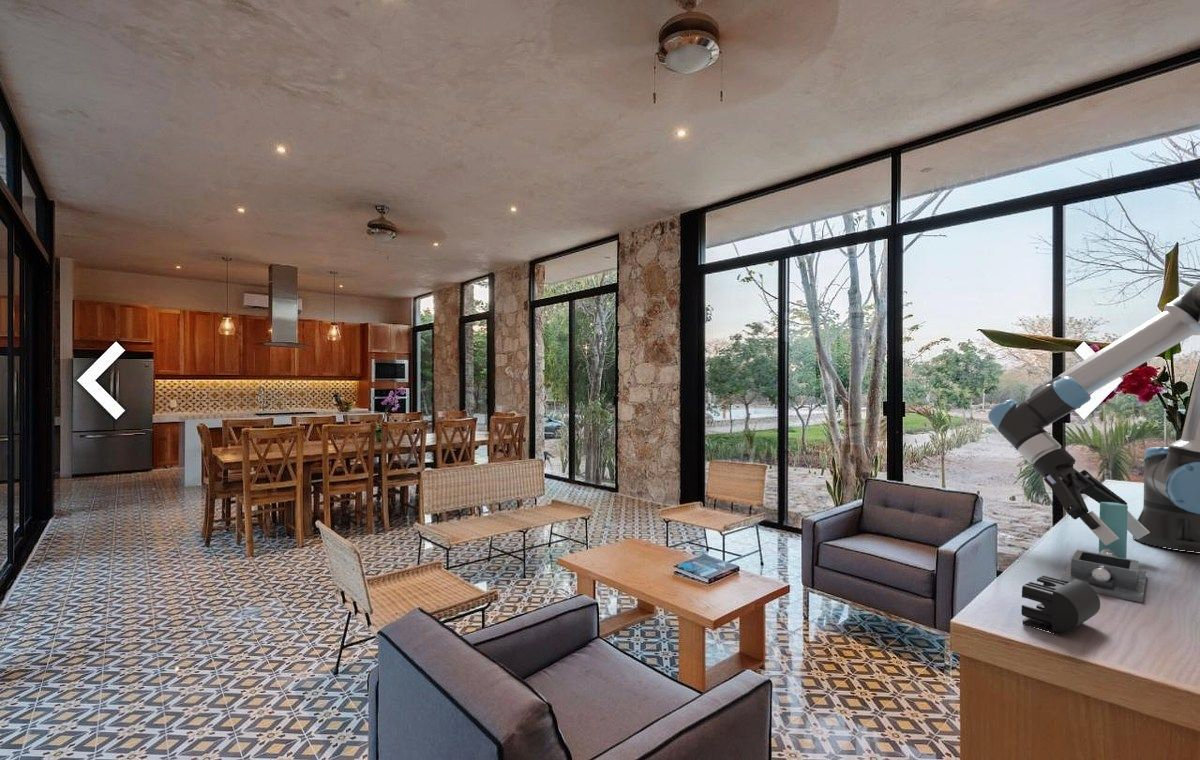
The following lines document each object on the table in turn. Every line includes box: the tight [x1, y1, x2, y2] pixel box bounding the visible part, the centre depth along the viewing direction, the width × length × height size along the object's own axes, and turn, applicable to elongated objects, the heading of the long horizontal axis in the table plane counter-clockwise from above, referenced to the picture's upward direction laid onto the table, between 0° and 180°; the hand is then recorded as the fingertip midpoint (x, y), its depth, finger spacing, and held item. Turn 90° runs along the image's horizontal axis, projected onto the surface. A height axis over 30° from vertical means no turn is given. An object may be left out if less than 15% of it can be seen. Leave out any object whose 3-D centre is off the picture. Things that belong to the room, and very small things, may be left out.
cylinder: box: [1098, 502, 1129, 559], centre depth 119 cm, size 4×4×12 cm
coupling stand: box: [1059, 549, 1147, 604], centre depth 106 cm, size 19×11×4 cm, turn 134°
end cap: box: [1020, 575, 1101, 636], centre depth 86 cm, size 10×7×7 cm
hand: (1128, 539), depth 116 cm, fingers open, 12 cm apart
